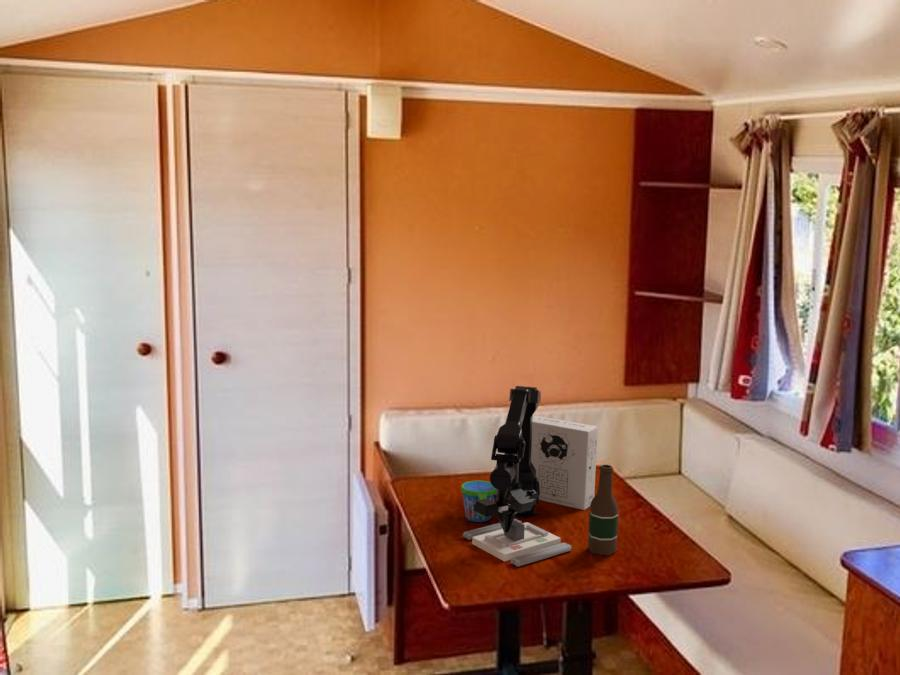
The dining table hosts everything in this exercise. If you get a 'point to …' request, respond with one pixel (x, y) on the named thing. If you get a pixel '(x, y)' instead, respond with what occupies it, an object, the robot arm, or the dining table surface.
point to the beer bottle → (603, 516)
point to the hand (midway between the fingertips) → (505, 532)
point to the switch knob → (516, 531)
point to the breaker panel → (515, 542)
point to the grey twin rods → (523, 558)
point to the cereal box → (564, 461)
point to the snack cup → (476, 498)
